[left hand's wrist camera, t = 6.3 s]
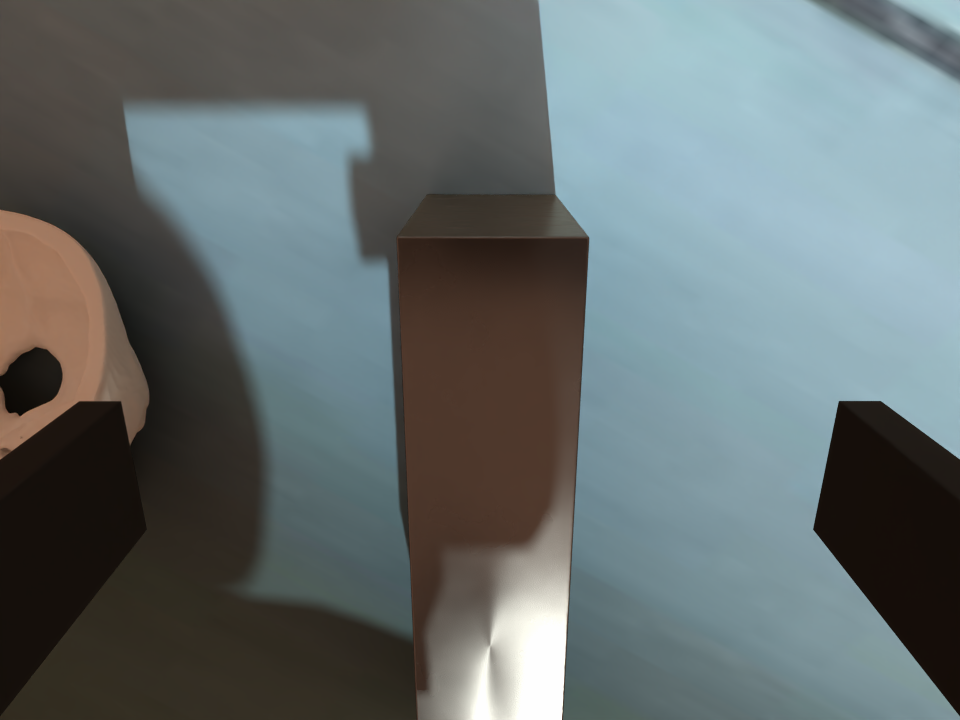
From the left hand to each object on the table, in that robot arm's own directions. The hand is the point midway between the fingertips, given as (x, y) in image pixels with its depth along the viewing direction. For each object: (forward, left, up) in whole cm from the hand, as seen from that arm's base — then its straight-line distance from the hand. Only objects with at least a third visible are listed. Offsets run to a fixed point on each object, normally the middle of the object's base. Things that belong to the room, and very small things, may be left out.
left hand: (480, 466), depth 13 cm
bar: (+6, +7, -14) cm, 17 cm away
